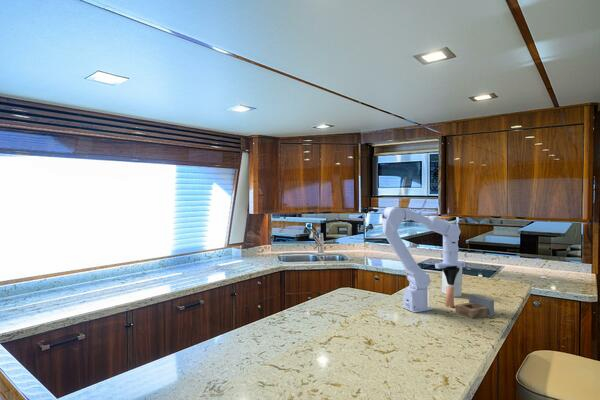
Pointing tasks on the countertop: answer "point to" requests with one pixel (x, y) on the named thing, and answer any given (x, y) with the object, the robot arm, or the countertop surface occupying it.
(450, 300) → the dowel
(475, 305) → the block
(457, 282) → the skincare box
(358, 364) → the countertop surface
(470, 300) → the backstop wall
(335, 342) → the countertop surface
